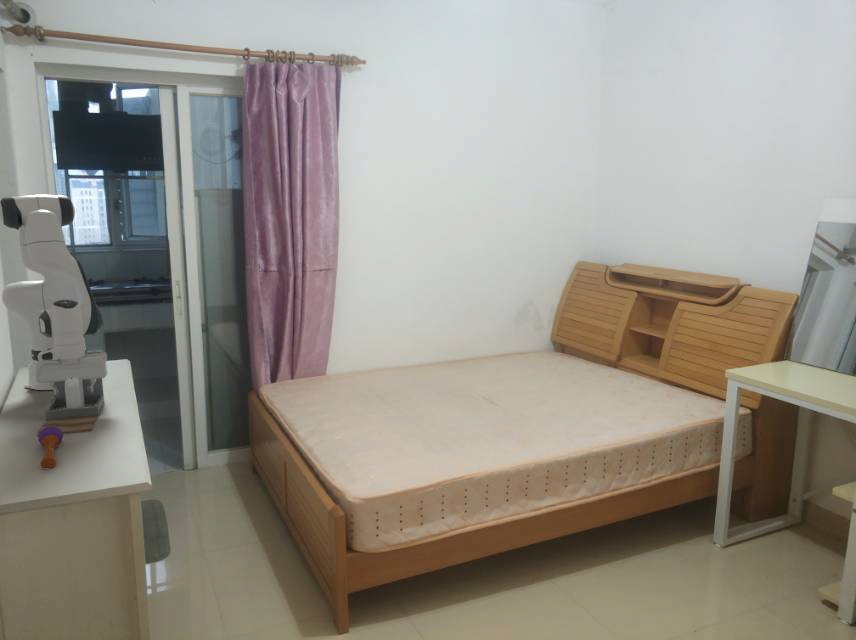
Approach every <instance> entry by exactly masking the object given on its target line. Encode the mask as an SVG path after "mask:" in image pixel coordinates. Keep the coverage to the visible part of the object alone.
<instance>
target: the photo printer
mask: <svg viewBox="0 0 856 640" xmlns="http://www.w3.org/2000/svg"><path fill="white" fill-rule="evenodd" d="M65 396H66V406H67V407H66V409H73V408H84V407H85V406H86V405H85V404H84V394H83V383H82V380H78V379H77V378H76V377H72V378H71V377H69V378H67V379H66V381H65Z"/></svg>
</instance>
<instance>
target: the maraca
mask: <svg viewBox="0 0 856 640" xmlns="http://www.w3.org/2000/svg"><path fill="white" fill-rule="evenodd" d="M37 437H38V438H37V439H38V443H39V444H40V446H42V447H43V448H45V452H44V454H43V457H42V459H41V462H40V466H41V468H42V469H44V468H50V469H53V468H55V466H56V465H57V462H56V458H55V451H54V449H55V448H57V447H58V446H59V445H60V444H62V442H63V439H64V434H63V432H62V431H61V429H59V428H57V427H54V426H50V427H46V428H44V429H43V430H42V431H41V432H40V433H39V436H37ZM52 467H53V468H52Z"/></svg>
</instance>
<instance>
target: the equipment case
mask: <svg viewBox="0 0 856 640" xmlns="http://www.w3.org/2000/svg"><path fill="white" fill-rule="evenodd" d="M82 383H83V394H84V404H85V406H86V405H87V406H86V407H85V406H84V408H73V409H67V407H66V396H65V381H58V382H56V383H55V384H54V385H55V386H56V387H57V389H59V388H60V392H61V394H60V395H54V394H53V400H52V401H51V402H50V403H49V405H48V407H47V408H46V410H45V412H44V413H45V414H44V415H45V421H46V420H54V419H65V418H75V417H86V416H96V415H97V417H99V416H100V413H101V411H102V408H103V406H104V403H105V395H104V385H103V384H104V383H103V378H97V379H96V382H95V383H94V385H93V392H88V390H87V387H88V386H91V384H92V382H91V381H90V379H84V380H82ZM52 391H53V393H54V390H53V389H52ZM88 405H89V406H88ZM90 405H95V406H90ZM64 406H65V407H64ZM58 408H63V409H58Z"/></svg>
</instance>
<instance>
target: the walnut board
mask: <svg viewBox="0 0 856 640" xmlns="http://www.w3.org/2000/svg"><path fill="white" fill-rule="evenodd" d="M97 418H98V416H97V415H96V416H86V417H75V418H65V419H54V420H46V419H45V421H44V423H43V424H42V426H41V428H40V429H39V431H38V432H37V434H36V436H37V437H38V436H39V433H40V432H41V431H42V430H43V429H44V428H46V427H50V426H54V427H57V428H59V429H61V431H62V432H63V435H64V433H66V434H75V433H74V432H76V433H82V432H83V433H85V432H92V430H93V427H94V425H95V423H96V420H97Z"/></svg>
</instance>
